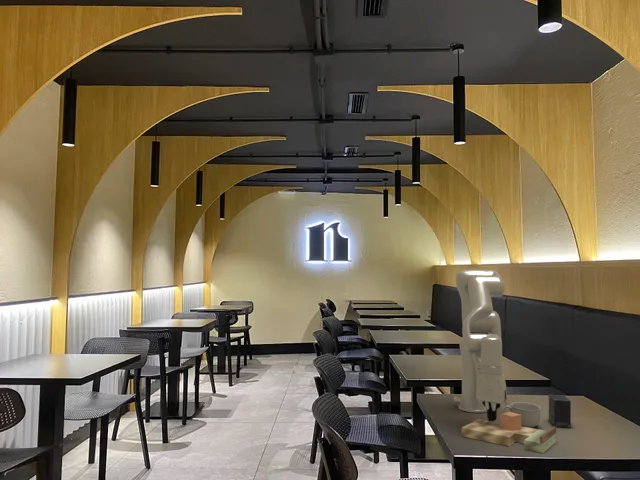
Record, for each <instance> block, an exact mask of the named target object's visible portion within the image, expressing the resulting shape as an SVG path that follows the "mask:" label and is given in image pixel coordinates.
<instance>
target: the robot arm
mask: <svg viewBox="0 0 640 480" xmlns="http://www.w3.org/2000/svg"><path fill="white" fill-rule="evenodd" d="M455 281H456V289H457V291H458V294H459V297H460V299H461V323H462V328H461V332H462V337H461V338H460V339H459V351H460V356H461V396H459V397H458V396H454V397H453V402H454V403H458V406H457V407H458V409H459V410H460V411H463V412H468V413H476V414H479V413H481V414H482V413H486V417H487V420H488V421H489V422H492V423H494V422H495V421H496V420H497V417H498V416H497V412H498V411H497V410H498V409H499V408H502V407H505V406H507V405H508V404H507V399H508V393H507V384H506V377H505V374H503V341H502V327H501V326H502V325H501V318H500V315H499V313H498V312H497V311H495V310H494V307H493V302H492V301H493V300H492V297H493V298H498V297H499V298H500V297H503V296H504V294H505V290H506V289H505V288H506V286H505V281H504V279H503V278H502V276H501V275H500V274H499V273H498V272H497V271H496V270H493V269H462V270H460V271H458V272H457V273H456V277H455ZM479 359H480V360H479Z"/></svg>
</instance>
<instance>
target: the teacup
mask: <svg viewBox="0 0 640 480" xmlns="http://www.w3.org/2000/svg"><path fill="white" fill-rule="evenodd" d="M506 409H508V410H509V412H513V413H516V414H520V415H521V426H522V427H528V428H533V429H535V427H536V426H538V425H539V424H540V419H541V406H539V405H538V404H535V403H533V402H532V403H531V402H524V401H514V402H511V403H510V404H509V405H508V404H507V406H505V407H501V413H505V412H506V411H505V410H506Z"/></svg>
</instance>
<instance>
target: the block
mask: <svg viewBox="0 0 640 480" xmlns="http://www.w3.org/2000/svg"><path fill="white" fill-rule="evenodd" d="M499 417H500V418H499V419H500V424H501V428H504V429H507V430H510V431H515V430H519V429H521V415H520V414H516V413H513V412H510V411H505V413H503V412H501V413H500V416H499Z"/></svg>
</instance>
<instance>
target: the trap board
mask: <svg viewBox="0 0 640 480" xmlns="http://www.w3.org/2000/svg"><path fill="white" fill-rule="evenodd" d="M462 437H464V438H469V439H472V440H476V441H477V440H478V441H483V442H488V443H492V444H497V445H503V446H507V447H510V446H512V445H513V444H514V443H519V444H522V445H523V448H524V450H525V451H531V452H536V453H541V454H544V453H545V452H547V451H548V450H549V449H550V448H551V447H552V446H553V445H555V443H557V441H558V440H557V427H554V426H553V425H552V427H550V428H549V429H548V430H543V429H538V428H528V427H522V426H521V429H519V430H515V431H510V430H507V429H504V428H501V423H500V424H498V425H491V424H490V421H488V419H483V418H478V419H475V420H473V421H472V422H470V423H468V424H466V425H465V426H462V427H461V438H462Z"/></svg>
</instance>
